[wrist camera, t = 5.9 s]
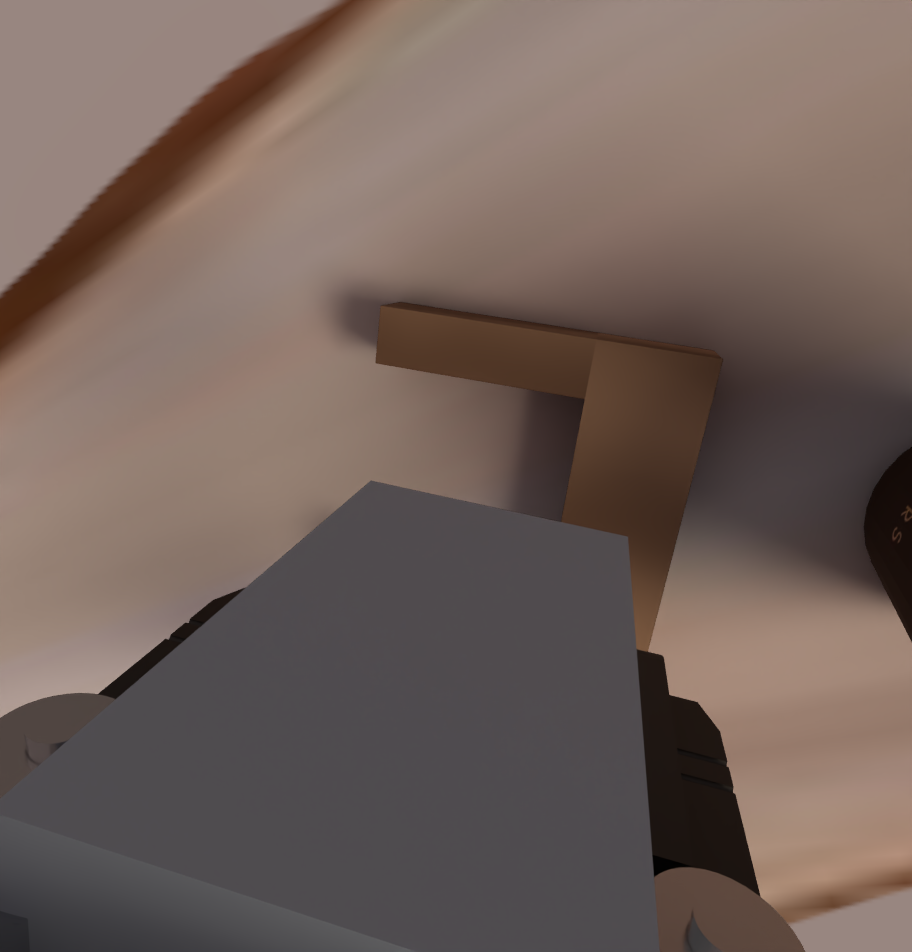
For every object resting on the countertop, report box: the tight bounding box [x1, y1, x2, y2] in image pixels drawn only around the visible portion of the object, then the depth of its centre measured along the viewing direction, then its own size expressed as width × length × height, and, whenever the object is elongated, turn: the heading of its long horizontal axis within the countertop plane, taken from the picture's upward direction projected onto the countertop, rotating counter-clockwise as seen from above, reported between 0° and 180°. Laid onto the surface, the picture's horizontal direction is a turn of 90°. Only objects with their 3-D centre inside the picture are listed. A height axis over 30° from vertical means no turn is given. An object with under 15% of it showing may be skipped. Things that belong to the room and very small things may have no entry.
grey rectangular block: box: [0, 481, 660, 952], centre depth 8 cm, size 4×4×7 cm
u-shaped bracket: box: [376, 302, 723, 652], centre depth 22 cm, size 10×10×2 cm
